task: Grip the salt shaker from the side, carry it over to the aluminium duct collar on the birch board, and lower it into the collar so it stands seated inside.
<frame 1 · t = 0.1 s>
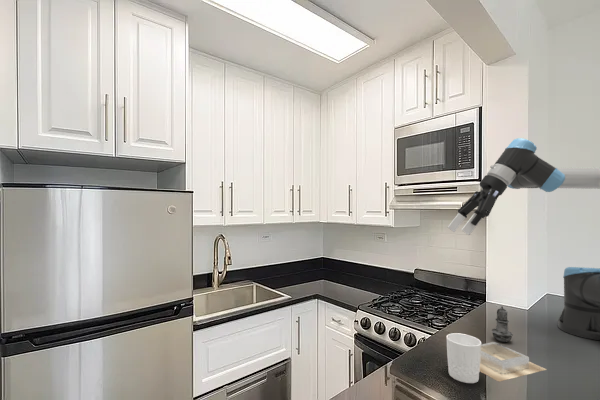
hand: (457, 231, 107), 36 cm above the countertop, tool tilted 35°, fingers open, 13 cm apart
white cup: (463, 379, 80), on the countertop
duct collar: (498, 362, 87), resting on flange board
flange board: (498, 365, 87), on the countertop
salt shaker: (502, 344, 102), on the countertop
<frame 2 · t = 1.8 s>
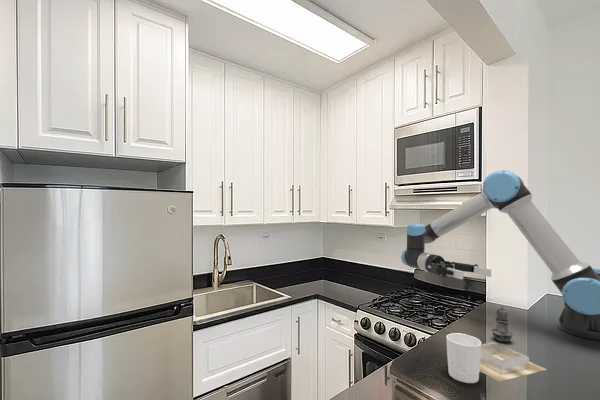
hand: (476, 274, 111), 20 cm above the countertop, tool horizontal, fingers open, 13 cm apart
nothing on the countertop moved.
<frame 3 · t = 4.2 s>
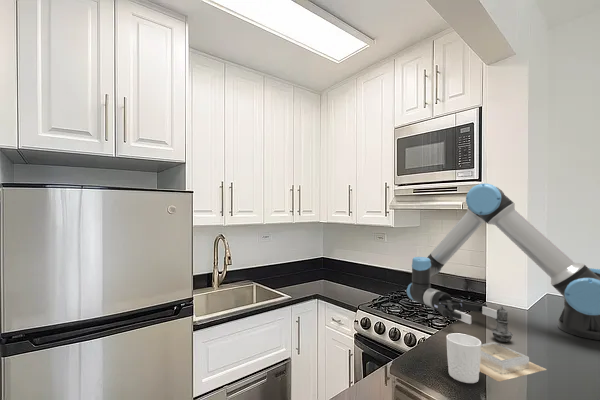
hand: (485, 317, 107), 6 cm above the countertop, tool horizontal, fingers open, 13 cm apart
nothing on the countertop moved.
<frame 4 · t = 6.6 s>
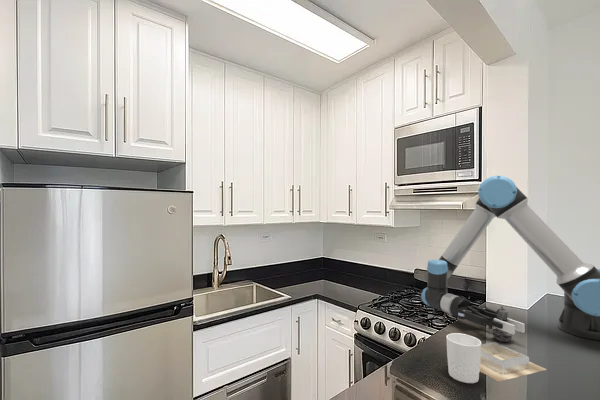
hand: (518, 329, 97), 7 cm above the countertop, tool horizontal, fingers closed on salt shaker, 4 cm apart
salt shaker: (502, 343, 102), on the countertop, touching gripper
everything else where it was.
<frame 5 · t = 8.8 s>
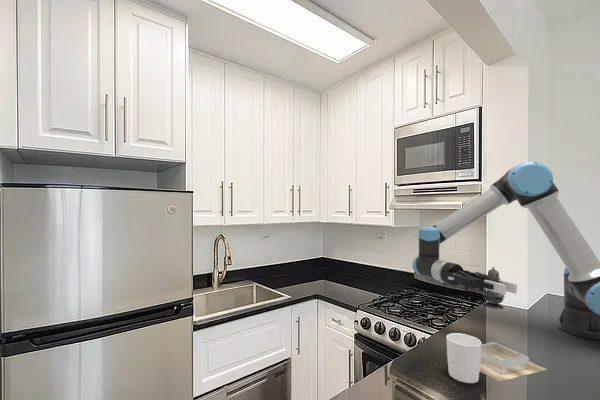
hand: (510, 289, 91), 20 cm above the countertop, tool horizontal, fingers closed on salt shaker, 4 cm apart
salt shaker: (493, 306, 96), point 14 cm above the countertop, touching gripper
everything else where it was.
when the fingers open (9 cm above the countertop, at t = 11.2 s): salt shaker drops 1 cm, resting on flange board.
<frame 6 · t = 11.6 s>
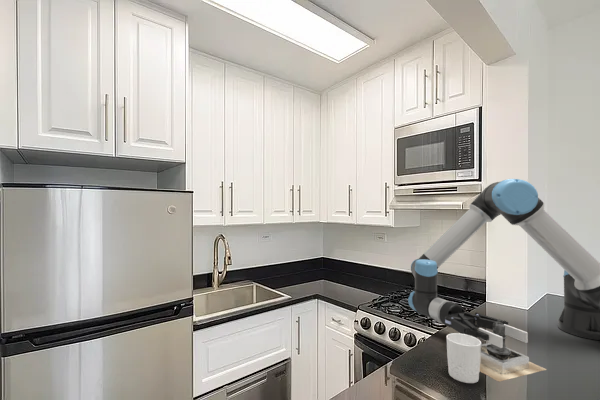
hand: (514, 340, 83), 9 cm above the countertop, tool horizontal, fingers open, 9 cm apart
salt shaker: (497, 362, 87), point 1 cm above the countertop, touching flange board
everything else where it was.
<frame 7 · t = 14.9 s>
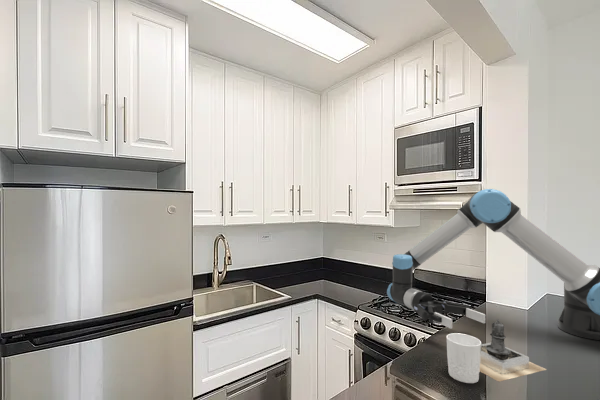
hand: (468, 321, 96), 9 cm above the countertop, tool horizontal, fingers open, 13 cm apart
nothing on the countertop moved.
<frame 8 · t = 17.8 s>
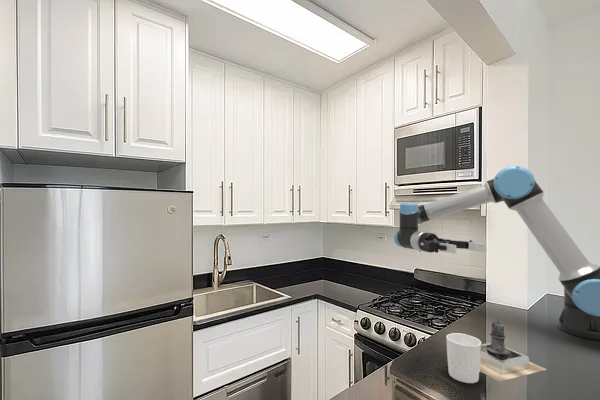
hand: (471, 248, 105), 30 cm above the countertop, tool horizontal, fingers open, 13 cm apart
nothing on the countertop moved.
at the end: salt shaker 0.1 cm off-centre on the duct collar, point 0.0 cm above the duct collar's base; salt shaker tilted 0°; the gripper is holding nothing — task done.
